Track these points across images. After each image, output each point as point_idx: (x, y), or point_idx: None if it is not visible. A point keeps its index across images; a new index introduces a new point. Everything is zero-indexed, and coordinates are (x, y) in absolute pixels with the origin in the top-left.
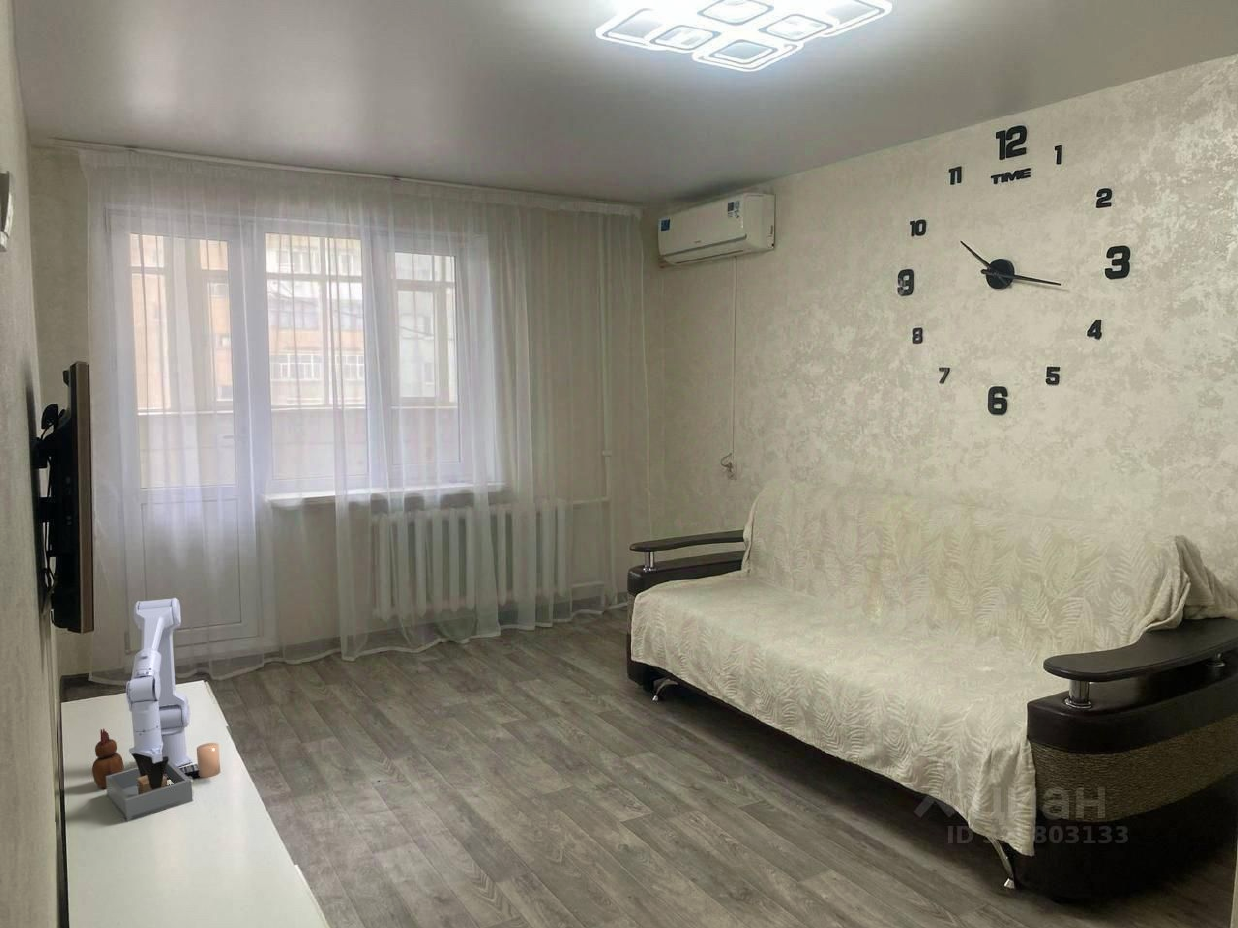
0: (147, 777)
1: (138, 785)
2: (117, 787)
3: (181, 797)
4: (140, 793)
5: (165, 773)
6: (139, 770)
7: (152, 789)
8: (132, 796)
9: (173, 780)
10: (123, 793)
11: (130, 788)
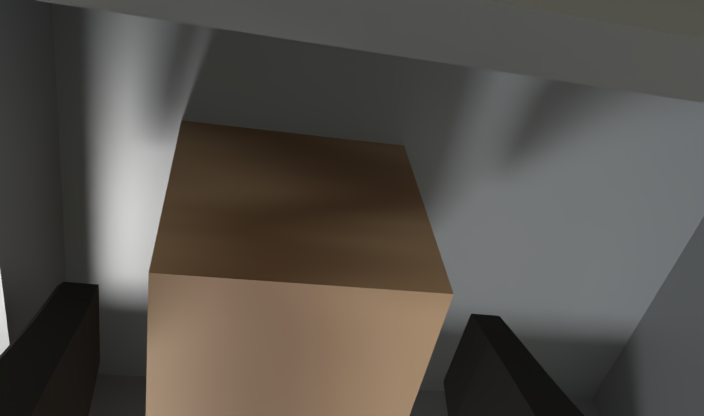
0: (352, 362)
1: (404, 232)
2: (544, 43)
3: None
4: (336, 180)
5: (603, 414)
6: (531, 387)
7: (61, 283)
8: (509, 126)
9: (417, 411)
10: (237, 6)
11: (689, 181)
